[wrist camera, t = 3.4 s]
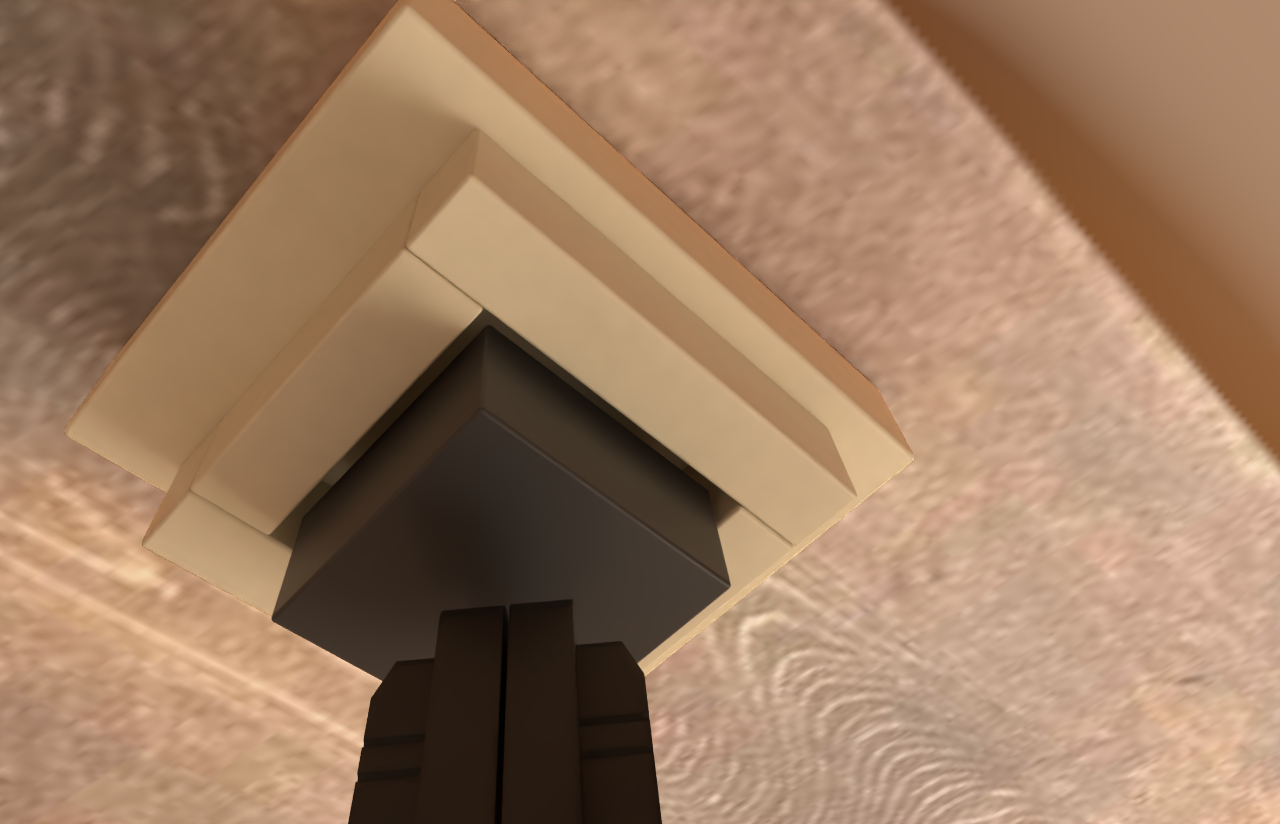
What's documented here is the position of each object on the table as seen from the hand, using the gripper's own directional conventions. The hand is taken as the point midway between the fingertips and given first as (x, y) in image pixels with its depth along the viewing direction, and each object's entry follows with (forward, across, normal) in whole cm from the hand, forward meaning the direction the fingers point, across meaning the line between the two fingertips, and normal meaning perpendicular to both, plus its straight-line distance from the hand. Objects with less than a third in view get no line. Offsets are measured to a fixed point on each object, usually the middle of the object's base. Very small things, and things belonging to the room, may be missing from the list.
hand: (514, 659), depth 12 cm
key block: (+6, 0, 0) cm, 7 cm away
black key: (+3, 0, 0) cm, 3 cm away
